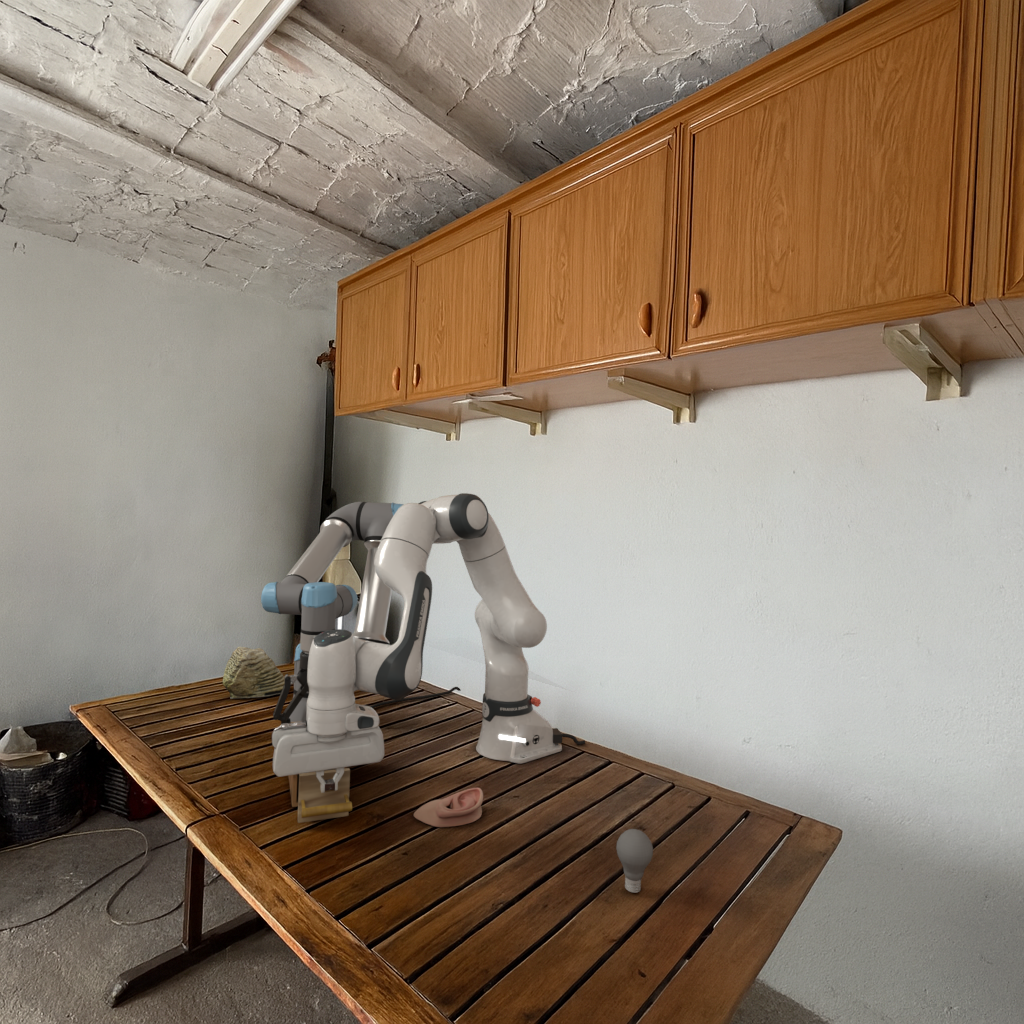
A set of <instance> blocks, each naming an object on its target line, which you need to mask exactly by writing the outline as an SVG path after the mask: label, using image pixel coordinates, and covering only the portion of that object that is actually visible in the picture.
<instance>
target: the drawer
mask: <svg viewBox="0 0 1024 1024" xmlns="http://www.w3.org/2000/svg"><path fill="white" fill-rule="evenodd" d="M350 768H351V767H347V768H345V767H344V774H343V775H342V777H341V779H340V780H339V782H338V790H337V791H331V792H325V793H321V783H320V781H319V780H318V778H317V777H316V774H315V772H309V773H302V774H297V789H298V806H297V823H298V824H301V823H308V822H314V821H321V820H329V819H336V818H341V817H348V816H349V812H352V811H353V802H352V801H350V789H351V788H350V787H351V783H350V782H351V769H350ZM335 773H336V770H335V769H329V770H324V775H323V776H322V777H323V779H324V780H327V779H333V777H334V775H335Z"/></svg>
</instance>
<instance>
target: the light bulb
mask: <svg viewBox="0 0 1024 1024" xmlns="http://www.w3.org/2000/svg"><path fill="white" fill-rule="evenodd" d="M615 849H616V854H617V857H618V859H619V861H620V863H621V865H622V867H623V873H624V874H623V875H624V876H625V878H624V888H625V890H627V891H628V892H630V893H634V894H635V893H639V892H640V891H641V889H642V887H641V886H642V879H643V877H644V875H645V871H646V868H647V867H648V866H649V864H650V863H651V861H652V859H653V855H654V847H653V843H652V841H651V838H649V836H648V835H647V834H646V833H645V832H643V831H642V830H641V829H636V828H629V829H627V830H625V831H623V832H622V833H621V834H620V835H619V837H618V839H617V841H616V847H615Z"/></svg>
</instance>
